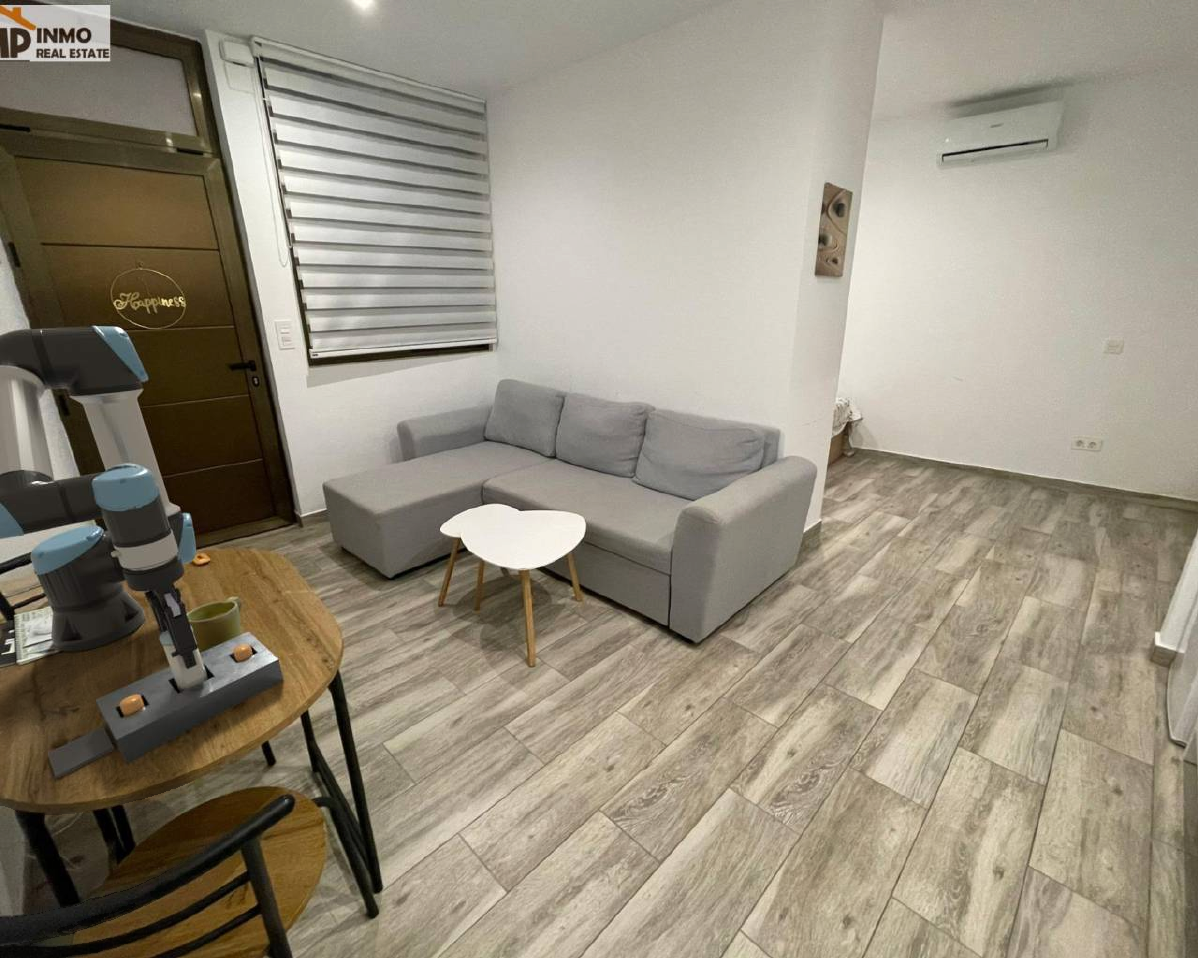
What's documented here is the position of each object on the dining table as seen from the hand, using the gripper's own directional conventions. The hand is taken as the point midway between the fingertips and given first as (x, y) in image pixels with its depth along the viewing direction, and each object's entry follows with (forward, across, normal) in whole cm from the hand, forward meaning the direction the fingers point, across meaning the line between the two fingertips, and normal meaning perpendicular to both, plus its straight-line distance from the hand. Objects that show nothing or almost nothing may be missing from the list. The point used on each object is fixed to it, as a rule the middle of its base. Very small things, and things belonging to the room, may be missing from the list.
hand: (189, 672), depth 95 cm
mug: (+6, -17, +10) cm, 21 cm away
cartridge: (+6, 0, 0) cm, 6 cm away
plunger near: (+6, 0, -8) cm, 10 cm away
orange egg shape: (+6, 0, +9) cm, 10 cm away
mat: (+6, -2, -16) cm, 17 cm away
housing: (+6, 0, 0) cm, 6 cm away
